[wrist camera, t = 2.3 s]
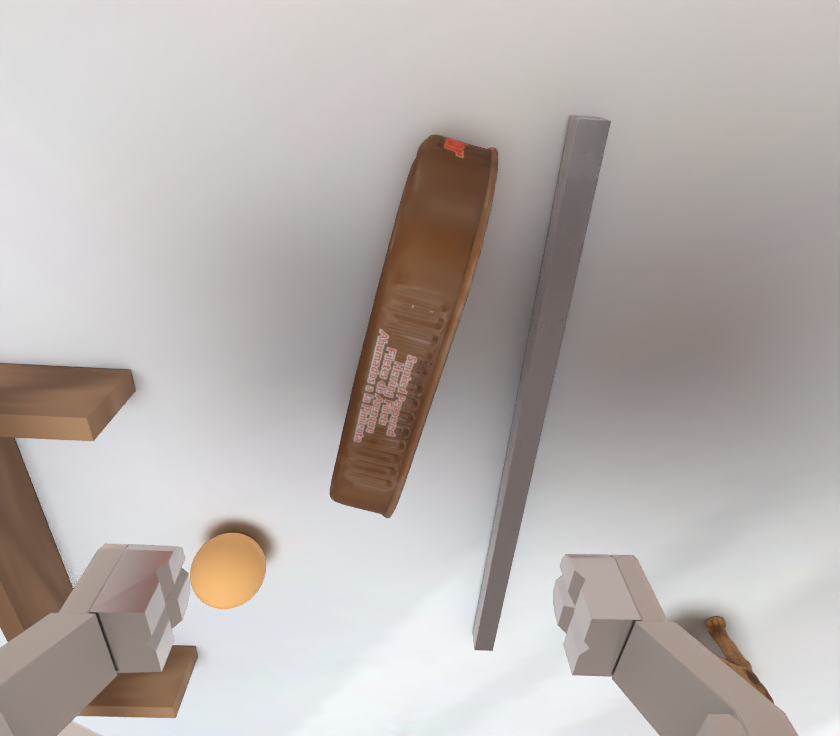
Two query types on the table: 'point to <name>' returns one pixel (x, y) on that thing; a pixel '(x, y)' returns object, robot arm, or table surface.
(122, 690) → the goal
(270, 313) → the table surface
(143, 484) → the table surface
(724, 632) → the lion figurine
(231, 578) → the ball
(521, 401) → the rail
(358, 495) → the tin
